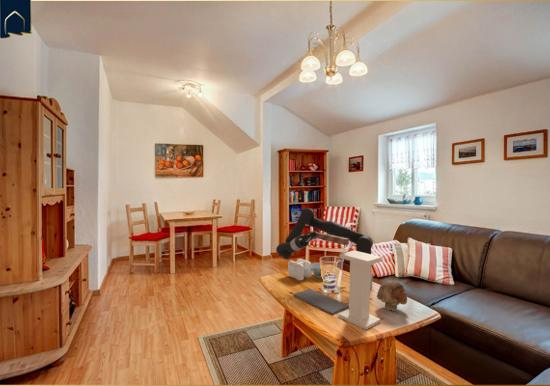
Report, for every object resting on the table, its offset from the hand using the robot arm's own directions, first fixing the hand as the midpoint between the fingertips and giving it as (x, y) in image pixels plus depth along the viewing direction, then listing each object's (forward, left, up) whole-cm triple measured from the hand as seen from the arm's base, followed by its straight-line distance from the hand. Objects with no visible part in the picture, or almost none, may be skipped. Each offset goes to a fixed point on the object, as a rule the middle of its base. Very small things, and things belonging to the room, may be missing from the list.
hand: (317, 232), depth 160 cm
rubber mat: (-1, +3, -39) cm, 39 cm away
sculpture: (-29, +28, -39) cm, 56 cm away
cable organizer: (-12, -36, -39) cm, 54 cm away
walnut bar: (-1, +7, -3) cm, 8 cm away
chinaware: (-27, -32, -39) cm, 57 cm away
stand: (-5, +28, -39) cm, 48 cm away
